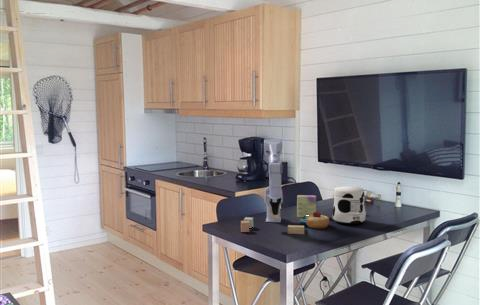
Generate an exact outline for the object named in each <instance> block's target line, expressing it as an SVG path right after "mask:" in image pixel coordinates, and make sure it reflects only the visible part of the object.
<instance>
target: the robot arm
mask: <svg viewBox="0 0 480 305" xmlns="http://www.w3.org/2000/svg"><path fill="white" fill-rule="evenodd" d="M263 152H264V153H263V154H264V156H266V157H267V159H268V177H269V178H268V179H269V180H268V183H269V186H267V187H266V188H265V189H264V195H263V196H264V197H263V199H264V201H263V202H264V204H266V218H265V223H282V222H281V221H282V217H281V204H283V203H284V202H283V201H284V196H283V188H282V173H283V162H282V161H281V157H280V156H282V152H283V140H282V139H264V140H263ZM271 207H272V213H273V215H277V214H278V208H279V218H271Z"/></svg>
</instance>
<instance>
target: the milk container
mask: <svg viewBox="0 0 480 305" xmlns="http://www.w3.org/2000/svg"><path fill="white" fill-rule="evenodd" d="M333 195H334V197H333V201H334V202H333V208H332V211H331V214H332V220H333V221H335V222H336V223H340V224H344V225H358V224H362V223H364V221H365V220H366V216H367V212H366V208H365V189H364V188H363V187H358V186H348V185H347V186H345V185H344V186H337V187H334V193H333Z"/></svg>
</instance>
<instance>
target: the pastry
mask: <svg viewBox="0 0 480 305" xmlns="http://www.w3.org/2000/svg"><path fill="white" fill-rule="evenodd" d="M319 211H321V212H322V213H324V211H323V210H322V209H318V211H316V212H314V213H313V215H309V216H307V217H305V224H306V225H307V227H308V228H310V229H317V230H319V229H321V230H322V229H327V227H328V226H329V224H330V223H329V222H330V219H329V216H327V215H323V214H321V213H320V212H319Z"/></svg>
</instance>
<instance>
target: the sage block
mask: <svg viewBox="0 0 480 305" xmlns="http://www.w3.org/2000/svg"><path fill="white" fill-rule="evenodd" d="M243 221H249V228H252V227H253V228H254V217H249V216H248V217H247V216H245V217H244V218H243ZM253 228H252V229H253Z"/></svg>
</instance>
